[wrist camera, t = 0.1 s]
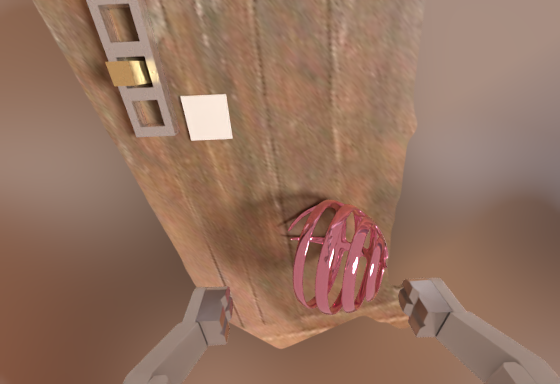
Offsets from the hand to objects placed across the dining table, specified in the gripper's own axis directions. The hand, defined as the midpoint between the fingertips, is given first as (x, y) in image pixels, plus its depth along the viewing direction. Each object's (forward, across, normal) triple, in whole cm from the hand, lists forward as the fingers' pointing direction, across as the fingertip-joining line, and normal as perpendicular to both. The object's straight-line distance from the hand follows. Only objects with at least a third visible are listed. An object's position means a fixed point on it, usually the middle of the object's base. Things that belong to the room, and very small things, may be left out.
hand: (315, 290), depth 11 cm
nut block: (+48, +30, -9) cm, 57 cm away
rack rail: (+48, +30, -9) cm, 57 cm away
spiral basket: (+48, -12, +34) cm, 60 cm away
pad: (+48, +18, +1) cm, 51 cm away
